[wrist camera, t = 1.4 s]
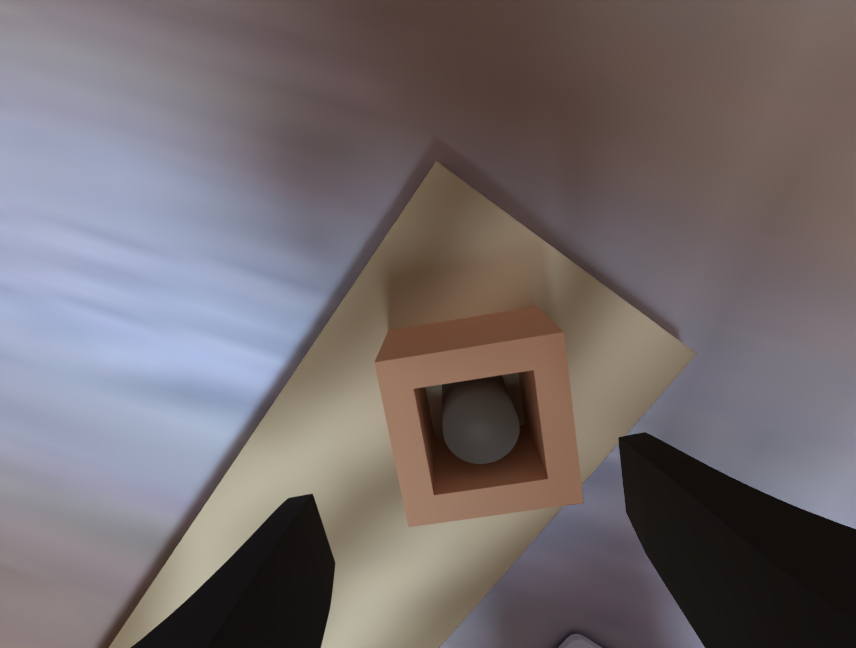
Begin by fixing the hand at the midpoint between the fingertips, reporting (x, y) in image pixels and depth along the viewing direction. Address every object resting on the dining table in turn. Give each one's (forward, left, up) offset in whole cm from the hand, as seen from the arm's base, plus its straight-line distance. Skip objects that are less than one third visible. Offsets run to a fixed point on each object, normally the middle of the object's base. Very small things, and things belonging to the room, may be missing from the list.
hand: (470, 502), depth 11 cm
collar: (0, 0, -8) cm, 8 cm away
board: (0, +8, -9) cm, 12 cm away
